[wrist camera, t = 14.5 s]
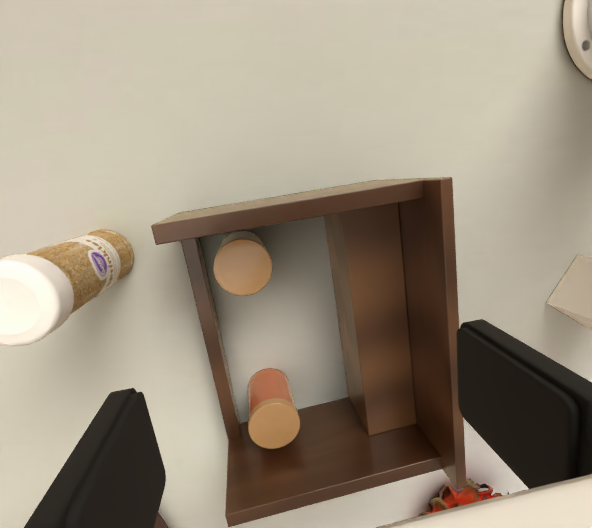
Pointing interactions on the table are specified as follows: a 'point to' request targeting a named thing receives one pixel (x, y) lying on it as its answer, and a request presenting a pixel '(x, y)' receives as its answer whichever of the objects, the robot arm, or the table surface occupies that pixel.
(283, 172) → the table surface
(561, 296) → the light grey cube
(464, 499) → the dragon fruit
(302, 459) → the spice rack
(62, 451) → the table surface
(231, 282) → the sage jar
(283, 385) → the terracotta jar
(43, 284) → the sprinkles bottle
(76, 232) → the table surface
